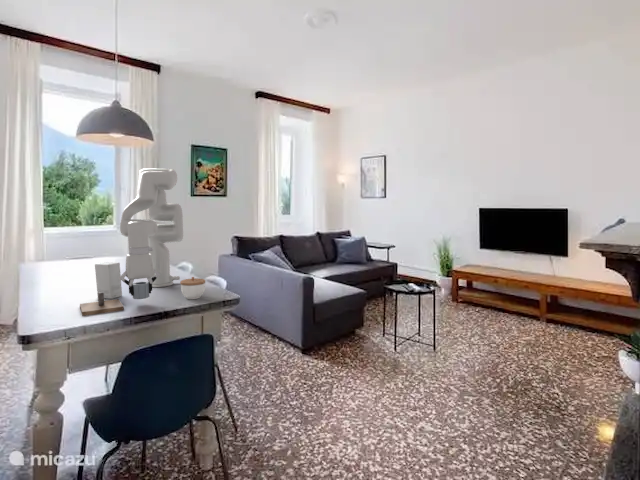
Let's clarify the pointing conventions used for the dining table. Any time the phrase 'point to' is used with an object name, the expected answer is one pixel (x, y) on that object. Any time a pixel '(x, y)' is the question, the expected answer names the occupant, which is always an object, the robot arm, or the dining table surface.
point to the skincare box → (108, 279)
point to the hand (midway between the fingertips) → (140, 293)
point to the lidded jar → (193, 287)
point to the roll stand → (101, 306)
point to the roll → (141, 290)
